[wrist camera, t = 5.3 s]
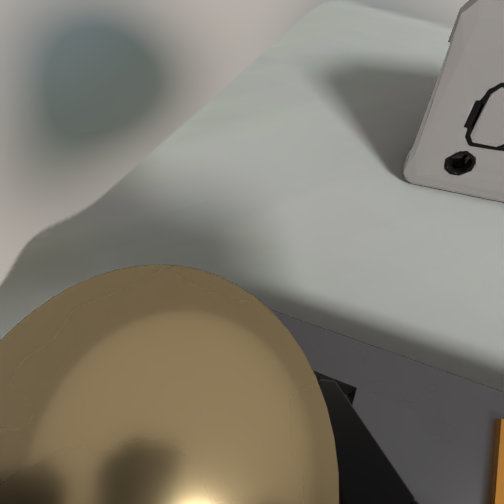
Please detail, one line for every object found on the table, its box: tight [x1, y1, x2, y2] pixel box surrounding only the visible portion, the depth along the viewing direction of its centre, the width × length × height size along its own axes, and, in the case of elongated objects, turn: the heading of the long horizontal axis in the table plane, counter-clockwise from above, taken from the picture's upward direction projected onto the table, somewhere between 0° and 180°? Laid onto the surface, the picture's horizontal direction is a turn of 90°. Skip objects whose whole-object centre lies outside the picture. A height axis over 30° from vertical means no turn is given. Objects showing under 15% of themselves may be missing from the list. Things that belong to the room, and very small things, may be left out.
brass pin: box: [0, 265, 339, 504], centre depth 9 cm, size 4×4×12 cm
